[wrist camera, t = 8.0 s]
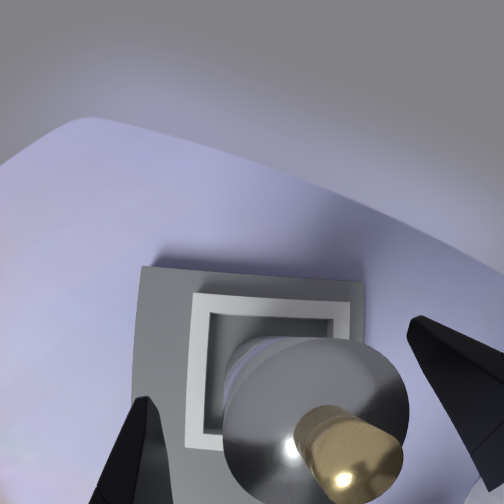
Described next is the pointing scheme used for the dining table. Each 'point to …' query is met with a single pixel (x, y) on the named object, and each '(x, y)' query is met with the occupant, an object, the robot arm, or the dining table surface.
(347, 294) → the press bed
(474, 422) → the robot arm
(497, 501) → the shot glass
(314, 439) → the gold-capped silver bottle
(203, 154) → the dining table surface
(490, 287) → the dining table surface
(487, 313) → the dining table surface
